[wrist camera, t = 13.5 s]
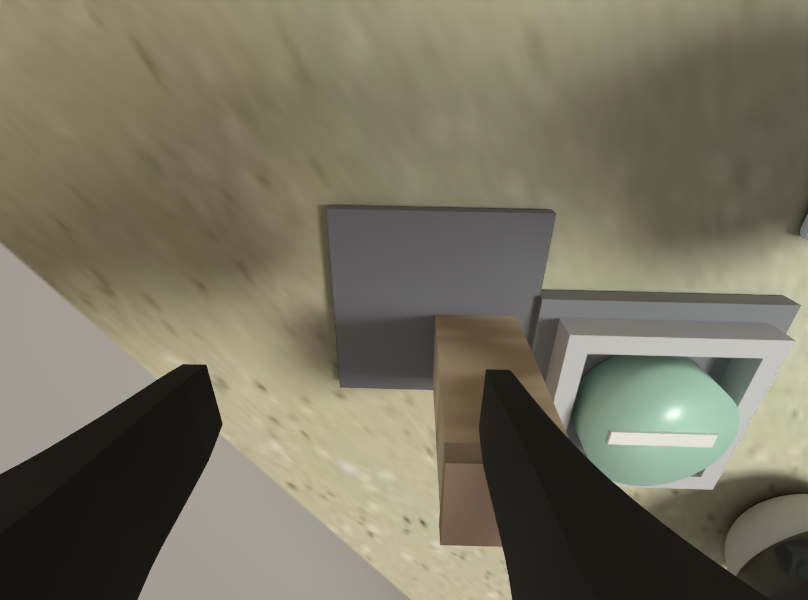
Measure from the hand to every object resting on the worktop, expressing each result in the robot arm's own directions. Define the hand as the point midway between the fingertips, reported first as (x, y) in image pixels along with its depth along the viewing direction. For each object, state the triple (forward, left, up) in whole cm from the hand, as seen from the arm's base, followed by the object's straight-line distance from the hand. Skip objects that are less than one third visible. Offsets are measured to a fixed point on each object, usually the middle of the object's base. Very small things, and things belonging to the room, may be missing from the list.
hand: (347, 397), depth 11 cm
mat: (-3, +3, -10) cm, 11 cm away
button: (-14, +8, -9) cm, 18 cm away
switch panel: (-14, +8, -10) cm, 19 cm away
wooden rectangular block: (-5, +5, -9) cm, 12 cm away
